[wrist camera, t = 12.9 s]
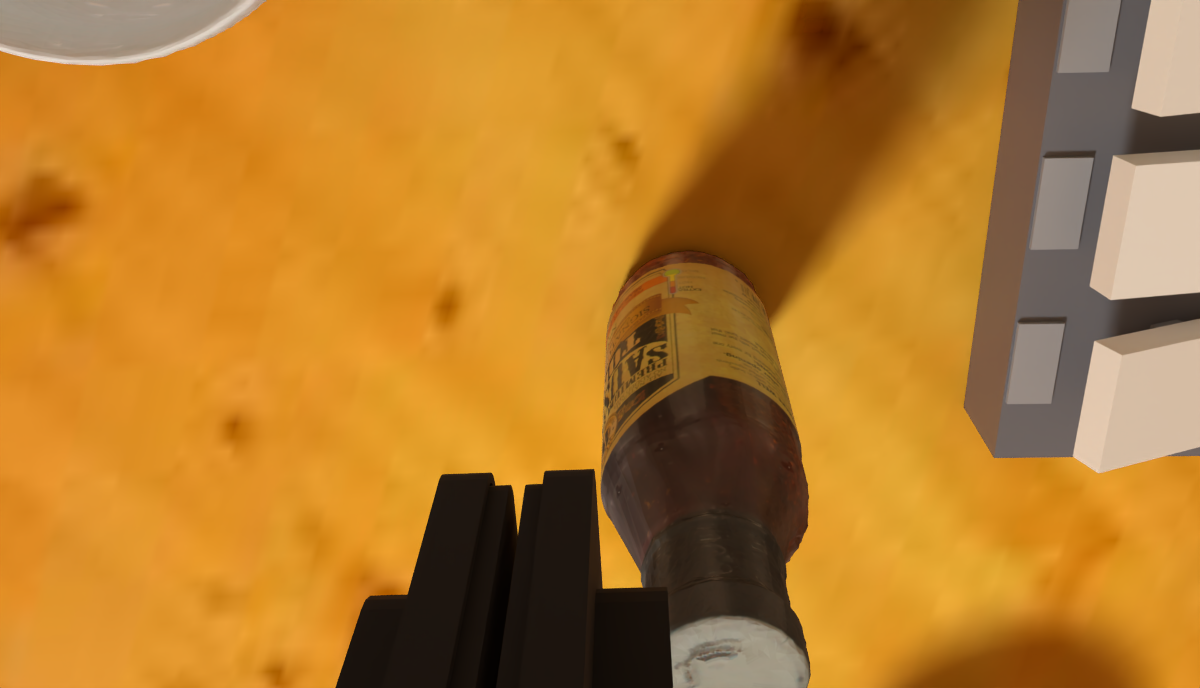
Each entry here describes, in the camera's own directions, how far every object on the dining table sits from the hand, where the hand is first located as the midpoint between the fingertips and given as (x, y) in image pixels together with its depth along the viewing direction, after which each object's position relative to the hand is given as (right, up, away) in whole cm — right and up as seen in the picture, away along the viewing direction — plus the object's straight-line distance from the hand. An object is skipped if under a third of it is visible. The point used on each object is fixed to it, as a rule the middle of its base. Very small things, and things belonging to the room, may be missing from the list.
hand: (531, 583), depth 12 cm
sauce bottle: (+4, +4, +31) cm, 32 cm away
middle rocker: (+21, +7, +24) cm, 33 cm away
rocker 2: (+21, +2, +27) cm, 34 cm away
